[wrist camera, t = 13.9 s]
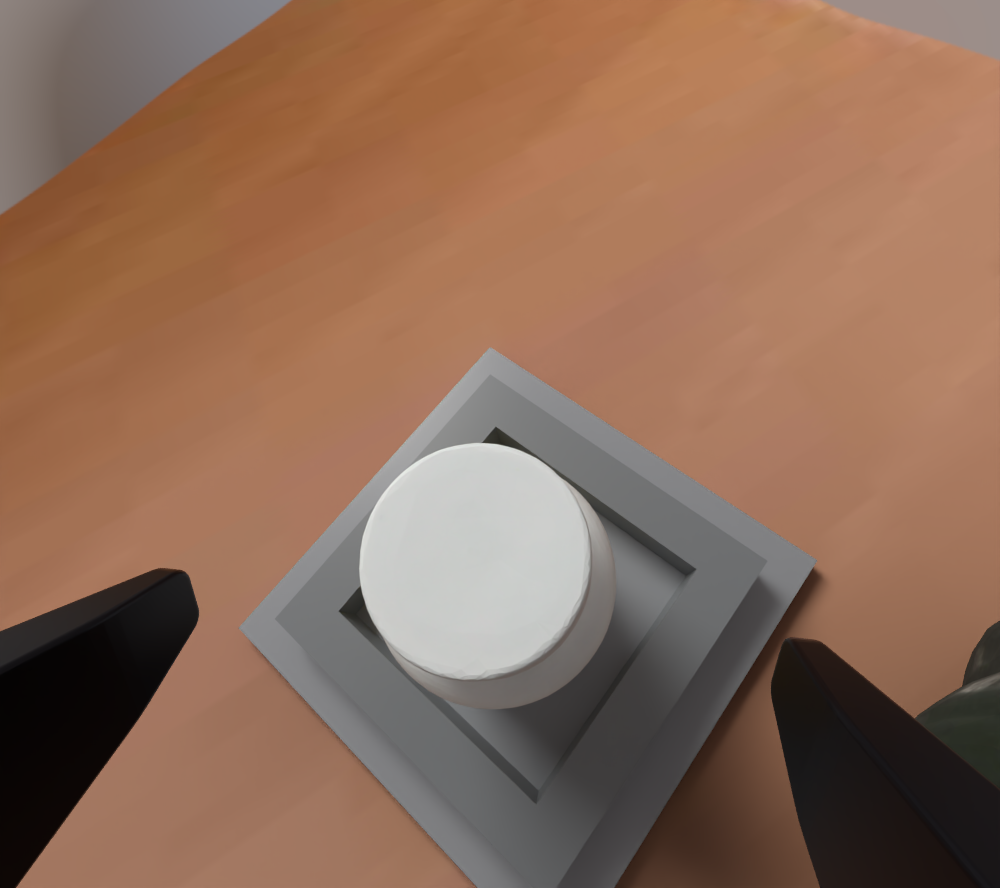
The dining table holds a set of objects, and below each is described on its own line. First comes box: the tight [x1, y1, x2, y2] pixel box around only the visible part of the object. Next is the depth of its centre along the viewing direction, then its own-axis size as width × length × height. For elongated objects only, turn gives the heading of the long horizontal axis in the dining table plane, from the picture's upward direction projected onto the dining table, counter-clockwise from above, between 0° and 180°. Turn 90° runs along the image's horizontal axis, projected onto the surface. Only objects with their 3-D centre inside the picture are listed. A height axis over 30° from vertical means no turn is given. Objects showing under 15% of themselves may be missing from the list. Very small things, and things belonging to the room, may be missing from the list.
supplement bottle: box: [359, 443, 616, 709], centre depth 13 cm, size 5×5×10 cm
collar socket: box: [239, 347, 817, 888], centre depth 17 cm, size 14×14×2 cm
